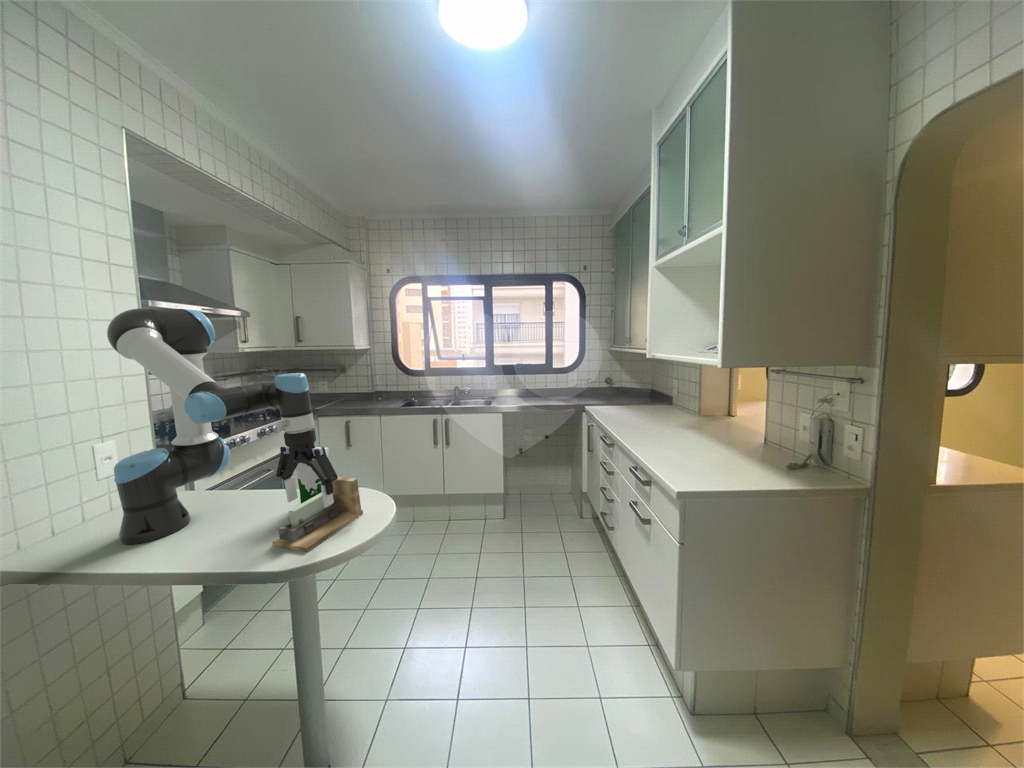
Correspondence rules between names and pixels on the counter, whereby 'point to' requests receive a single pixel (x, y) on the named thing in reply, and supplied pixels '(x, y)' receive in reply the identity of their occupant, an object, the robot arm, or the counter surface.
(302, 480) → the milk carton
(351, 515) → the wooden stand with tray
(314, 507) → the pale green rectangular block
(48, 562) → the counter surface
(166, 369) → the robot arm
